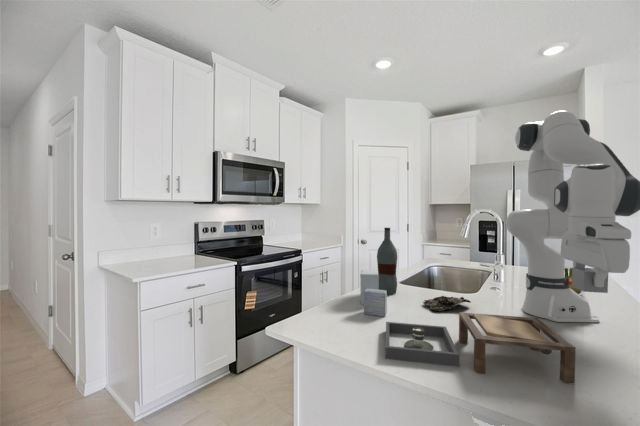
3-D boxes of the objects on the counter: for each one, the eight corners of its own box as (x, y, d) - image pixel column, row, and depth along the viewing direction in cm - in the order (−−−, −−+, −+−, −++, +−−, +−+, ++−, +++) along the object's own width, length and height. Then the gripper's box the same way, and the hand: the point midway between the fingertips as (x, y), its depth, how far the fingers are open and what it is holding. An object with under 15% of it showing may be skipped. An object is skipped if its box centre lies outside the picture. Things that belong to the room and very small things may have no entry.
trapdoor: (529, 334, 85) (530, 322, 85) (553, 357, 72) (555, 343, 72) (471, 325, 88) (473, 313, 88) (485, 345, 76) (487, 332, 75)
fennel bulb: (562, 292, 141) (563, 267, 141) (568, 291, 143) (569, 266, 143) (577, 296, 136) (578, 269, 135) (583, 294, 138) (584, 268, 137)
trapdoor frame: (536, 347, 87) (536, 318, 87) (574, 384, 69) (575, 347, 69) (458, 339, 92) (459, 312, 91) (475, 372, 74) (476, 338, 73)
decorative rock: (439, 305, 112) (413, 291, 126) (439, 321, 112) (413, 305, 126) (478, 297, 118) (449, 284, 132) (478, 312, 119) (449, 298, 133)
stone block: (594, 287, 79) (594, 268, 79) (607, 292, 74) (608, 272, 74) (571, 286, 80) (572, 267, 80) (583, 291, 75) (584, 271, 75)
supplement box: (378, 300, 130) (378, 270, 130) (378, 305, 123) (378, 274, 122) (360, 299, 131) (361, 269, 131) (360, 304, 124) (360, 273, 124)
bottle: (392, 289, 146) (392, 226, 145) (400, 294, 137) (401, 228, 136) (373, 290, 145) (374, 227, 144) (380, 295, 136) (381, 228, 135)
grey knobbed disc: (450, 352, 83) (450, 334, 83) (411, 359, 80) (411, 340, 80) (423, 334, 95) (423, 319, 95) (388, 339, 91) (388, 323, 91)
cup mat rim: (445, 336, 94) (445, 326, 94) (458, 366, 77) (458, 354, 76) (386, 330, 98) (386, 321, 98) (385, 358, 81) (385, 347, 80)
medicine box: (386, 313, 114) (387, 290, 114) (385, 317, 110) (385, 293, 110) (365, 310, 117) (366, 288, 117) (363, 314, 113) (363, 291, 113)
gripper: (554, 225, 87) (553, 273, 88) (603, 231, 67) (601, 293, 68) (579, 225, 86) (578, 274, 86) (637, 232, 66) (635, 295, 66)
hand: (589, 283), depth 77 cm, fingers closed on stone block, 5 cm apart
